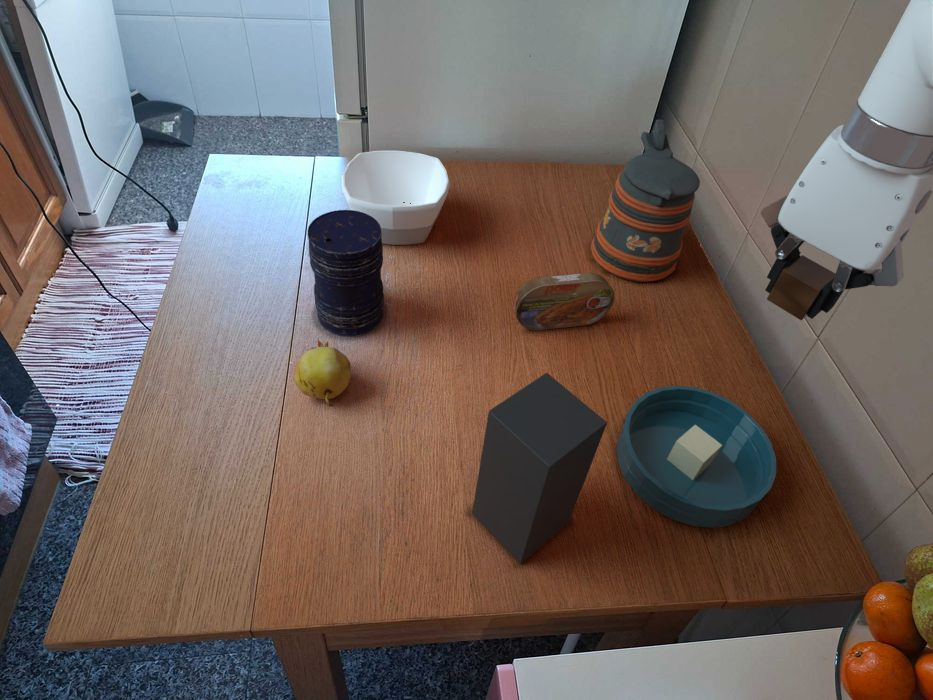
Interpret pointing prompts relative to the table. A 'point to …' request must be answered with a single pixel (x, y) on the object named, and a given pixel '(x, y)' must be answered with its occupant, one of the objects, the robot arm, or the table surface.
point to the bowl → (397, 192)
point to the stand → (534, 464)
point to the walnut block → (799, 286)
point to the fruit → (322, 372)
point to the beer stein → (646, 213)
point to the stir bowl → (722, 483)
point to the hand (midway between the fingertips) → (795, 298)
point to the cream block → (694, 452)
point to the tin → (563, 301)
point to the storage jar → (347, 271)
